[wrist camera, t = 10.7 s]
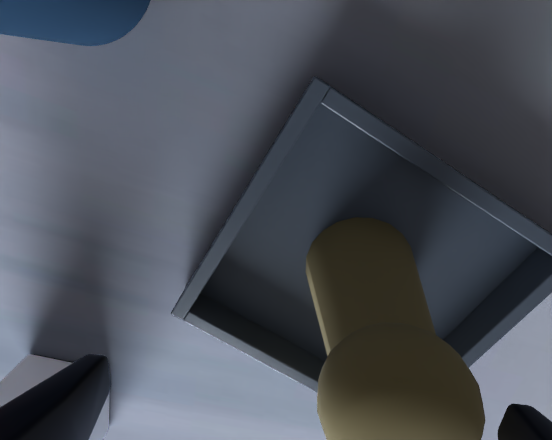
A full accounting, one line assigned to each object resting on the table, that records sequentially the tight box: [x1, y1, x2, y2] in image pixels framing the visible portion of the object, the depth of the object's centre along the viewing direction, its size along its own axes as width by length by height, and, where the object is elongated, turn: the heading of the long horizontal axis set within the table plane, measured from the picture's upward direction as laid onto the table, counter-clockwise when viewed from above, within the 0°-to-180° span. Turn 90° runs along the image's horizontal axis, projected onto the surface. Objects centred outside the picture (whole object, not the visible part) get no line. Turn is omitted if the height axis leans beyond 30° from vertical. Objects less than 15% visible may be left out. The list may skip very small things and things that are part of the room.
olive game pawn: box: [306, 217, 485, 440], centre depth 16 cm, size 6×6×11 cm
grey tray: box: [171, 76, 552, 393], centre depth 20 cm, size 16×15×2 cm
